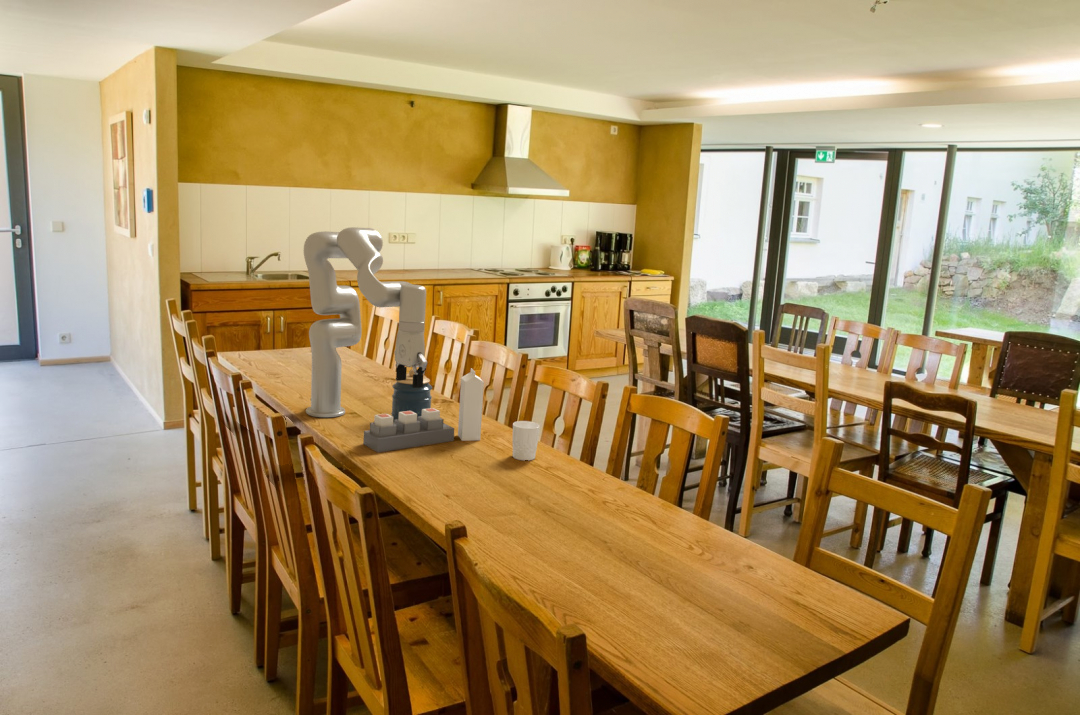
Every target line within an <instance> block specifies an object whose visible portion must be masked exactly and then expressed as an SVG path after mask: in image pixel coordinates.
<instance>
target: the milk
mask: <svg viewBox="0 0 1080 715" xmlns="http://www.w3.org/2000/svg"><path fill="white" fill-rule="evenodd" d="M484 384H485V382H484V380H482V379H481V377H480V376H478V375H476V371H475V370H474V368H471V367H470V372H468V373H467V374H465V375H463V376H462V377H460V393H459V410H458V427H457V436H458V437H459V438H460V441H462V442H463V441H465V442H466V441H469V442H470V441H471V442H472V441H481V436H482V435H481V434H482V433H481V432H482V420H483V418H482V417H483V405H484V404H483V401H484V388H485V387H484Z"/></svg>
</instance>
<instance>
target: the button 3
mask: <svg viewBox="0 0 1080 715" xmlns="http://www.w3.org/2000/svg"><path fill="white" fill-rule="evenodd" d="M421 418H423V419H425V420H427V421H432V420H439V419H440V418H441V411H440V410H438V409H436V408H434V407H431V408H428V409H422V417H421Z"/></svg>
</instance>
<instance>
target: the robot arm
mask: <svg viewBox="0 0 1080 715" xmlns="http://www.w3.org/2000/svg"><path fill="white" fill-rule="evenodd" d="M383 243H384V242H383V238H382V236H381V234H380V233H379V232H378V230H376V229H374V228H371V227H354V226H353V227H346V228H343V229H341V231H315V232H313V233H311V234H309V235H308V236H307V237H306V239H305V241H304V243H303V257H304V261H305V265H306V267H307V272H308V282H309V294H310V303H311V307H312V310H313V312H314V313H315V314H317V315H320V316H331V315H335V316H336V315H339V318H327V319H320V320H316V321H314V322H313V323H312V324H311V325H310V327H309V330H308V338H309V342H310V344H309V345H310V350H311V383H310V384H311V385H310V386H311V387H310V388H311V389H310V390H311V391H310V392H311V395H310V397H311V398H310V406H309V407H307V408H306V409H305V413H306V414H307V415H308V416H311V417H314V418H336V417H341V416H343V415H345V414H346V409H345V408H344V407H343V406H341V404H342V403H341V402H342V401H341V400H342V399H341V398H342V397H341V396H342V363H343V362H342V358H341V357H340V354H339V352H338V351H337V349H336V348H343V347H344V348H345V347H352V346H353V347H354V346H355V345H357V344H358V343H360V341H361V338H362V330H363V329H362V320H361V318H362V316H361V305H360V299H359V295H358V293H357V291H356V290H355V289H354V288H353V287H352V286H350V285H338V283H337V275H336V274H337V273H336V271H335V268H334V267H333V265H332V264H331V262H330V261H329V260H328V259H348V260H349V262H350V263H351V264H352V265H353V267H354V268H355V269H356V270H357V275H356V276H357V277H356V280H357V281H356V282H357V285H358V288H359V291H360V293H361V294H362V295H363V296H364V298H365V299H366V300H367V301H368V303H370V304H371V305H373V307H376V308H393V307H394V308H397V307H398V308H399V309H398V310H399V314H398V330H397V333H396V338H395V340H396V341H395V350H394V352H393V353H394V361H395V367H396V369H395V370H396V371H395V379H396V380H397V381H401V380H406V374H407V370H408V369H407V368H412V369H413V371H414V374H413V386H412V387H413V388H419V387H423V375H425V372H426V370H427V365H428V361H427V360H426V358H425V357H426V356H425V352H426V351H425V345H426V344H425V334H424V333H425V327H426V326H425V324H426V307H427V306H426V303H427V302H426V301H427V289H426V287H425V286H423V285H421V284H420V285H419V284H412V283H410V282H408V281H403V280H402V281H401V280H400V281H399V280H398V281H393V280H391V281H380V280H379V279H377V277H376V276H375V274H376V273H378V271H380V269H381V268H382V266H383V264H384V258H383V255H382V254H381V250H382V249H383V246H384V244H383ZM396 380H395V381H396ZM397 381H396V382H397Z"/></svg>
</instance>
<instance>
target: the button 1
mask: <svg viewBox="0 0 1080 715" xmlns="http://www.w3.org/2000/svg"><path fill="white" fill-rule="evenodd" d="M373 420H374V424H375V425H376V426H378V427H387V426H393V424H394V422H393V416H391V414H389V413H381V414H380V413H379V414H374V419H373Z"/></svg>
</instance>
